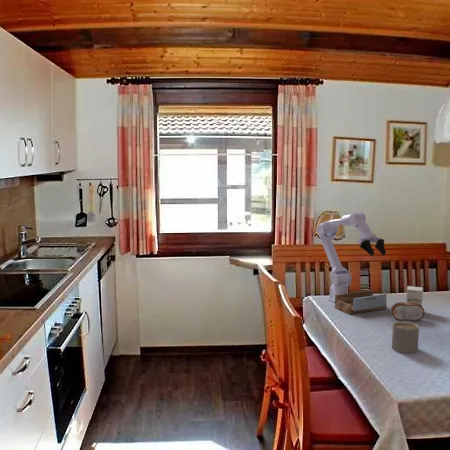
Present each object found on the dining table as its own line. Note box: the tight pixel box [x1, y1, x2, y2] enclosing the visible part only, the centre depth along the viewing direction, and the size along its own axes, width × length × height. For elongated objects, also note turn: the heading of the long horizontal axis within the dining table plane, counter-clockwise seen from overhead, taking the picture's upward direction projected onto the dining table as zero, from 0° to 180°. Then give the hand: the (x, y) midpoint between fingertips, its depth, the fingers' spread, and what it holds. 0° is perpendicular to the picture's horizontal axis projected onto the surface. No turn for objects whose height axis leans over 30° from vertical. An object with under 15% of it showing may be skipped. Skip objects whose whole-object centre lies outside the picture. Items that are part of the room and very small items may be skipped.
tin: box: [390, 301, 425, 322], centre depth 238 cm, size 15×3×8 cm, turn 84°
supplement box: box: [405, 285, 424, 307], centre depth 249 cm, size 7×7×13 cm
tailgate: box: [353, 293, 387, 311], centre depth 250 cm, size 2×20×6 cm, turn 115°
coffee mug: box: [391, 320, 420, 355], centre depth 204 cm, size 13×10×10 cm
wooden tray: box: [334, 289, 387, 315], centre depth 257 cm, size 12×24×7 cm, turn 115°
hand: (378, 254), depth 240 cm, fingers open, 7 cm apart
